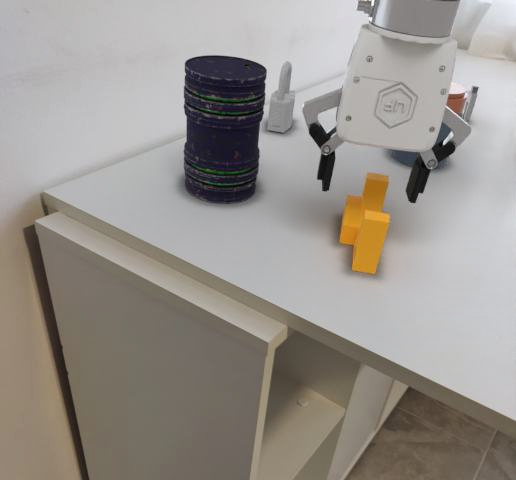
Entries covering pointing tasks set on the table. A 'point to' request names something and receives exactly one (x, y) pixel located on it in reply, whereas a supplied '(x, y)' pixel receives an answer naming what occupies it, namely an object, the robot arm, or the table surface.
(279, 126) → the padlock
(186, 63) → the storage jar
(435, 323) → the table surface
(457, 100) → the lidded canister
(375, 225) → the orange stepped block
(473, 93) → the caliper
